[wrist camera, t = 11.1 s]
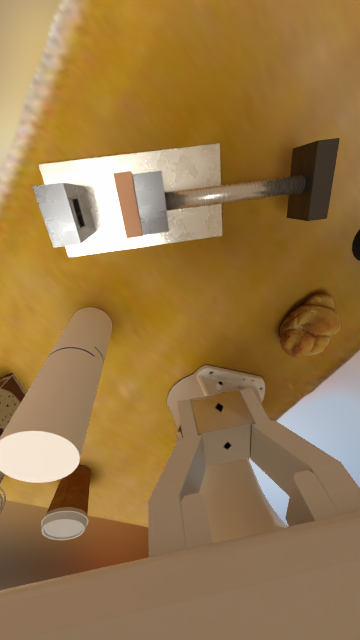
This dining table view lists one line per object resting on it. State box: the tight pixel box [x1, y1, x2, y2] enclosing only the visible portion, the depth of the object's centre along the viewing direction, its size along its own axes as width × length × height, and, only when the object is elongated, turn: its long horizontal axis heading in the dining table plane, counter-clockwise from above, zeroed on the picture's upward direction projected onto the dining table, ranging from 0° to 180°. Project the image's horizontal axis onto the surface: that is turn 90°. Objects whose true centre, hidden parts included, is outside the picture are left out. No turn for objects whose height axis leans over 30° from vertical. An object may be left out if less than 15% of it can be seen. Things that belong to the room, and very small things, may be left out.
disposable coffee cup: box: [41, 465, 90, 540], centre depth 56 cm, size 10×10×12 cm
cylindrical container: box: [0, 307, 112, 482], centre depth 32 cm, size 7×7×25 cm
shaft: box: [164, 138, 340, 221], centre depth 29 cm, size 21×8×5 cm, turn 96°
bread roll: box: [280, 293, 341, 357], centre depth 45 cm, size 13×10×8 cm
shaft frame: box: [32, 143, 222, 257], centre depth 31 cm, size 24×12×11 cm, turn 96°
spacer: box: [113, 171, 143, 238], centre depth 32 cm, size 2×7×7 cm, turn 6°
